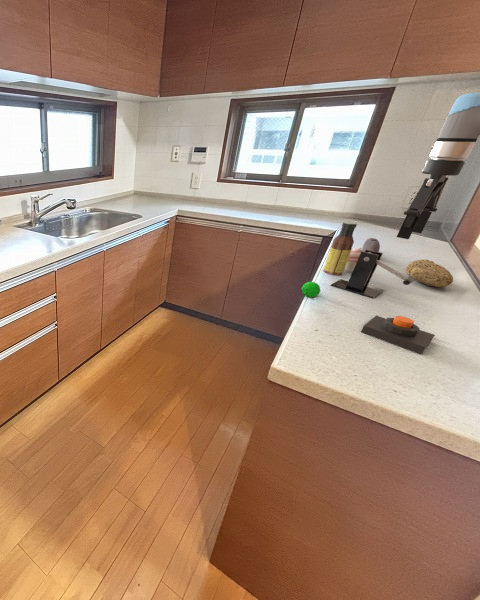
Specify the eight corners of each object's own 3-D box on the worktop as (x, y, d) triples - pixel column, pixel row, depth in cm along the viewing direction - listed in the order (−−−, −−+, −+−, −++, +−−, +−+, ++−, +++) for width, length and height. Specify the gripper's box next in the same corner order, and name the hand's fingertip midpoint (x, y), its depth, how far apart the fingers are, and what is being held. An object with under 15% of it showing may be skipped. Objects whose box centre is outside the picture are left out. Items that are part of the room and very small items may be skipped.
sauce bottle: (341, 273, 125) (362, 222, 117) (341, 278, 121) (364, 225, 112) (321, 270, 129) (340, 220, 120) (321, 274, 124) (341, 223, 115)
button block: (430, 342, 83) (438, 328, 81) (420, 354, 77) (429, 341, 76) (372, 322, 91) (379, 309, 90) (360, 332, 86) (366, 319, 84)
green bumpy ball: (319, 296, 106) (324, 283, 104) (315, 300, 103) (320, 287, 101) (301, 291, 109) (306, 278, 107) (297, 295, 106) (302, 282, 104)
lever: (410, 283, 101) (417, 277, 100) (405, 287, 98) (412, 281, 97) (365, 256, 109) (371, 250, 107) (359, 259, 106) (365, 253, 104)
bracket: (380, 294, 109) (400, 255, 103) (371, 300, 104) (391, 260, 98) (339, 282, 118) (355, 245, 112) (329, 287, 113) (345, 249, 107)
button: (412, 326, 82) (415, 320, 82) (408, 330, 81) (412, 324, 80) (394, 320, 85) (397, 314, 84) (390, 324, 83) (393, 318, 82)
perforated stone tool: (377, 261, 140) (384, 246, 137) (362, 259, 143) (368, 243, 140) (374, 253, 151) (380, 238, 148) (360, 250, 154) (366, 236, 151)
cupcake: (358, 278, 122) (369, 253, 117) (330, 270, 128) (340, 246, 124) (367, 273, 126) (379, 249, 122) (340, 266, 133) (350, 242, 129)
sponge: (402, 272, 132) (397, 274, 118) (417, 255, 128) (414, 254, 115) (443, 289, 124) (443, 292, 110) (460, 271, 120) (462, 272, 107)
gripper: (438, 158, 98) (405, 227, 108) (415, 158, 85) (380, 237, 95) (474, 159, 93) (436, 232, 102) (456, 160, 80) (414, 244, 89)
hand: (409, 235), depth 98 cm, fingers open, 13 cm apart
